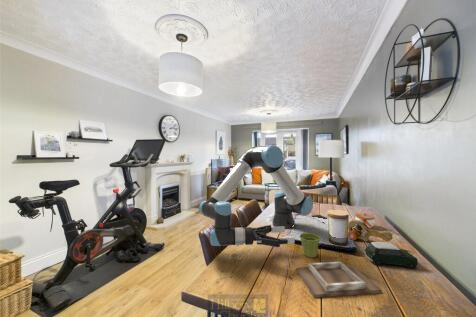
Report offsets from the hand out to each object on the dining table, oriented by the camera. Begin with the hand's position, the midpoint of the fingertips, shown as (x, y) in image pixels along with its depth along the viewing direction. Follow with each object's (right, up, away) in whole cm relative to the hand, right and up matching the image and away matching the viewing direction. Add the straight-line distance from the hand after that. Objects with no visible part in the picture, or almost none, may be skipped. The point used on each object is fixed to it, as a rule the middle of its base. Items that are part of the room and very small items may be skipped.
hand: (288, 234), depth 92 cm
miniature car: (+43, -10, -6) cm, 44 cm away
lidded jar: (+59, -10, +36) cm, 70 cm away
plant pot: (+10, -10, +1) cm, 15 cm away
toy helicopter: (+46, -10, +15) cm, 49 cm away
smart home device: (+39, -10, +51) cm, 65 cm away
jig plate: (+12, -10, -18) cm, 24 cm away
